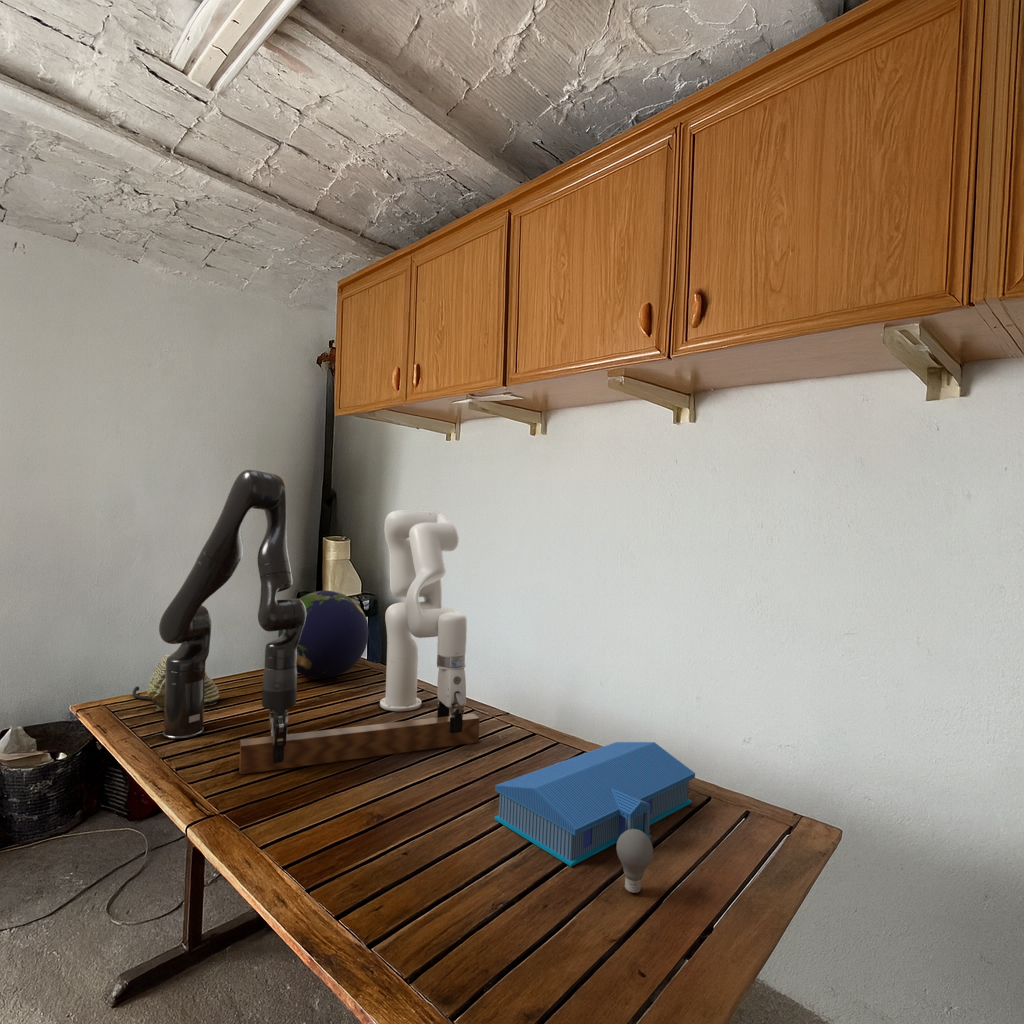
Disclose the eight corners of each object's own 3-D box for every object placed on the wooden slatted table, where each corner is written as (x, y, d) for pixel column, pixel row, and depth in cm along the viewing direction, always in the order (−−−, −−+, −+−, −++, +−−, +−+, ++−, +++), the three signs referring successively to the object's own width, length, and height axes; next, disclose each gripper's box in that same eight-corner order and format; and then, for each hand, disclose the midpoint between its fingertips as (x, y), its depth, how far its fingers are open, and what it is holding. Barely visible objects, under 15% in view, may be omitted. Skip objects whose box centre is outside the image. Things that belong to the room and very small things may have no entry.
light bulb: (610, 879, 108) (613, 822, 108) (644, 879, 109) (647, 822, 109) (619, 902, 102) (622, 840, 102) (655, 901, 103) (658, 840, 103)
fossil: (144, 707, 182) (145, 655, 182) (212, 696, 194) (213, 647, 194) (151, 716, 175) (153, 662, 175) (221, 703, 188) (223, 653, 188)
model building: (584, 875, 109) (587, 817, 109) (492, 818, 128) (494, 769, 127) (705, 808, 136) (707, 762, 136) (614, 769, 154) (616, 728, 154)
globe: (256, 681, 211) (260, 592, 211) (316, 661, 239) (319, 582, 238) (330, 695, 200) (333, 601, 199) (383, 673, 228) (386, 590, 227)
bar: (239, 774, 142) (240, 746, 142) (239, 767, 146) (240, 739, 146) (478, 742, 167) (479, 718, 167) (472, 737, 171) (473, 713, 171)
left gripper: (300, 692, 143) (297, 768, 143) (293, 675, 155) (290, 744, 156) (264, 695, 139) (262, 773, 140) (260, 678, 152) (257, 748, 152)
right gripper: (477, 667, 159) (475, 735, 159) (453, 652, 175) (451, 714, 175) (449, 670, 156) (446, 739, 156) (427, 654, 172) (425, 717, 172)
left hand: (277, 757), depth 148 cm, fingers closed on bar, 4 cm apart
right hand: (449, 726), depth 165 cm, fingers open, 9 cm apart
